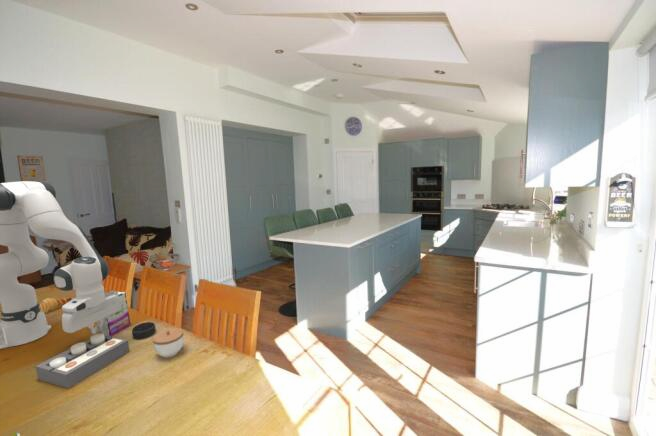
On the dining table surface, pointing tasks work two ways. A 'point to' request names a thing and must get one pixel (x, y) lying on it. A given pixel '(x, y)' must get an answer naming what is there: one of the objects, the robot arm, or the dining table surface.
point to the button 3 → (97, 339)
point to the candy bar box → (117, 318)
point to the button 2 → (78, 349)
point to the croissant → (52, 304)
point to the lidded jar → (168, 342)
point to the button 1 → (58, 362)
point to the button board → (82, 362)
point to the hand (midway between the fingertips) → (96, 331)
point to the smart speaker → (143, 330)
